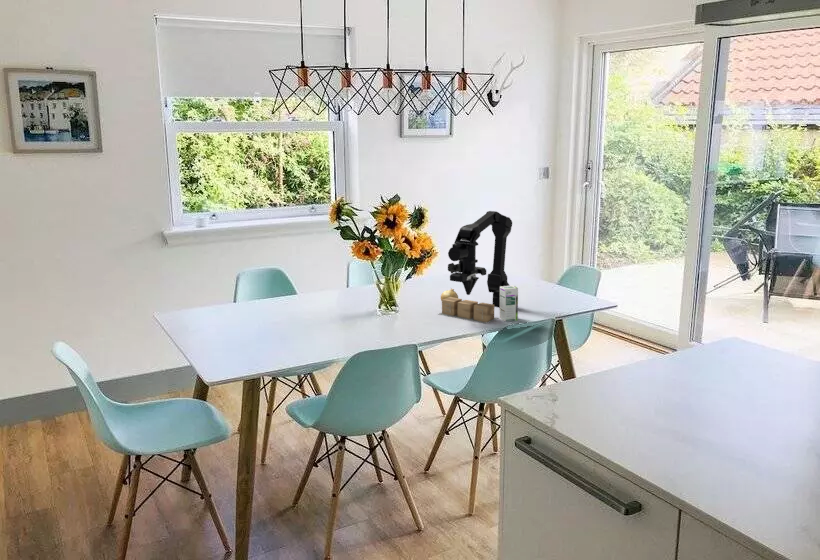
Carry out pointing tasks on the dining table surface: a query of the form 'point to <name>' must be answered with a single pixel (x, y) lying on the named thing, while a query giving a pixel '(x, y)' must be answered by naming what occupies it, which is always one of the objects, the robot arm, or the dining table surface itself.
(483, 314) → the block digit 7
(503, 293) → the syrup box
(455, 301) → the tan cube
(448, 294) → the onion
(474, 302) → the block plain
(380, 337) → the dining table surface
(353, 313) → the dining table surface
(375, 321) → the dining table surface
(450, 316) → the mat
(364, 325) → the dining table surface
